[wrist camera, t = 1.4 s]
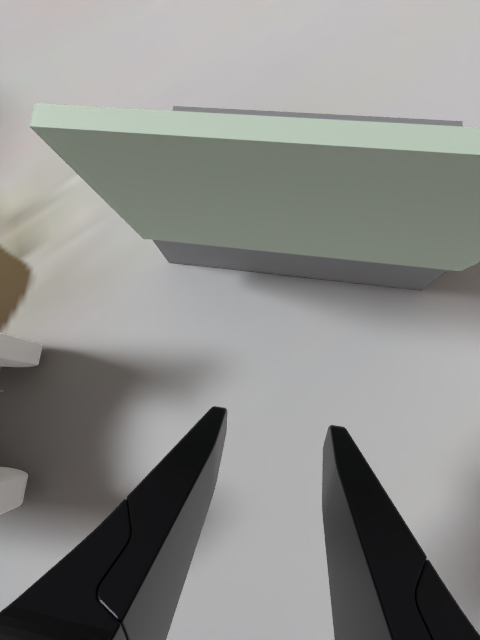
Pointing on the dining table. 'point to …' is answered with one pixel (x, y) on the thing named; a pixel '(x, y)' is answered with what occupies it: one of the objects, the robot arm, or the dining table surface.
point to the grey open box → (303, 263)
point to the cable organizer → (9, 351)
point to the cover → (280, 181)
